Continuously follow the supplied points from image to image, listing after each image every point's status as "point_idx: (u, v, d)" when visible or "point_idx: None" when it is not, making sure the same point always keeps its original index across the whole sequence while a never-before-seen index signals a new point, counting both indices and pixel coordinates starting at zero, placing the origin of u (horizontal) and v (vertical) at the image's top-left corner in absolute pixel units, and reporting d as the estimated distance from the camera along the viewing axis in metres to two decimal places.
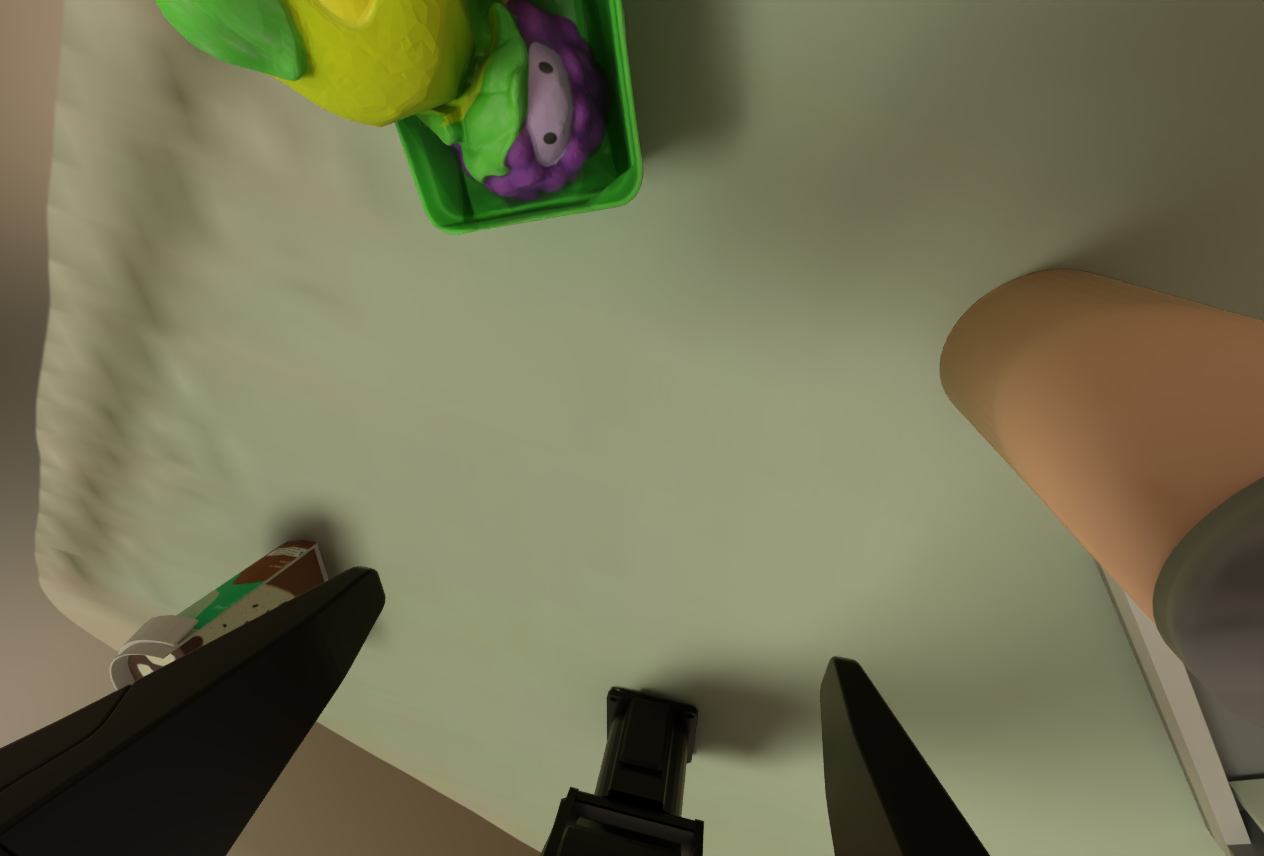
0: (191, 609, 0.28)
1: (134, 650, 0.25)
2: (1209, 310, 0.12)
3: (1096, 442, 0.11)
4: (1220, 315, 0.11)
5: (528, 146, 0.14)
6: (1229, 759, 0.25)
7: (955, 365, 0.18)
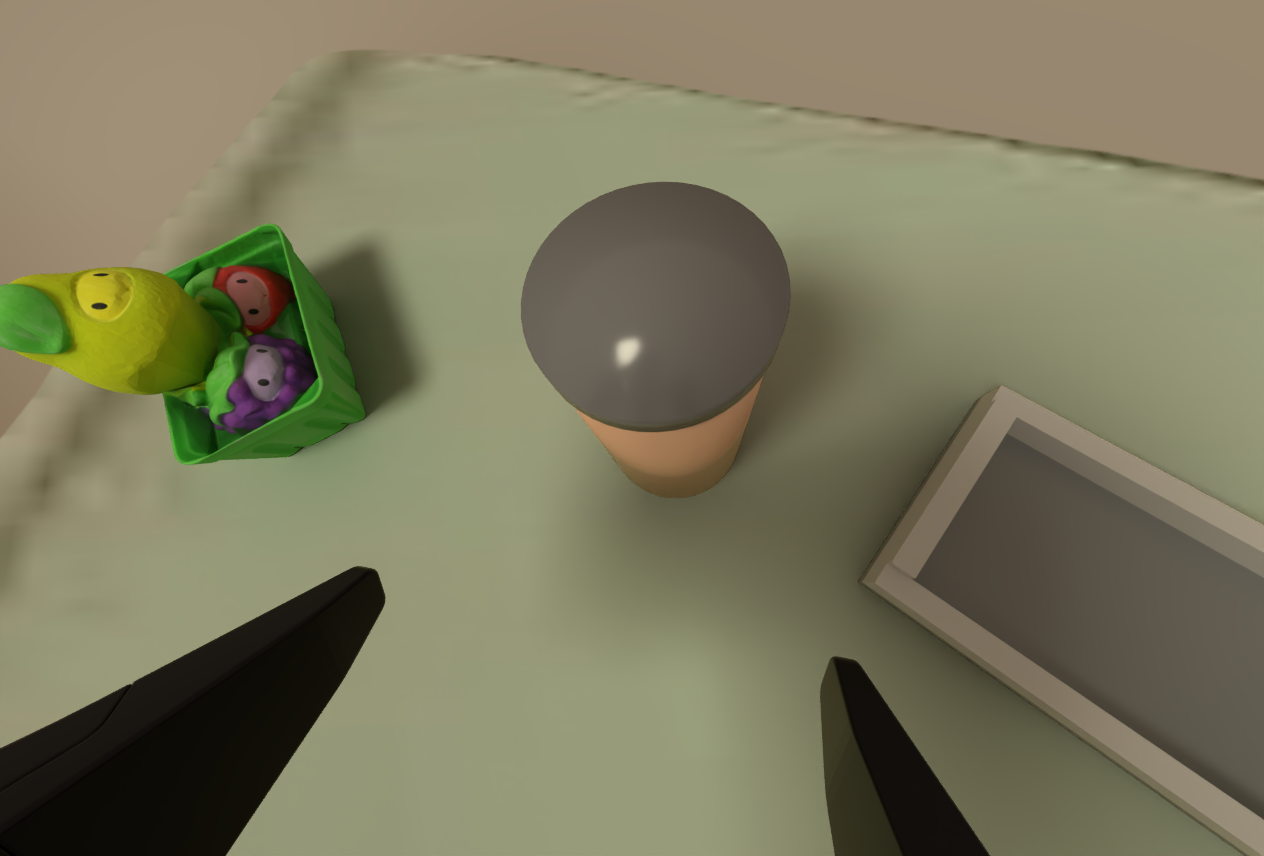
0: None
1: None
2: None
3: None
4: None
5: (244, 386, 0.21)
6: None
7: None
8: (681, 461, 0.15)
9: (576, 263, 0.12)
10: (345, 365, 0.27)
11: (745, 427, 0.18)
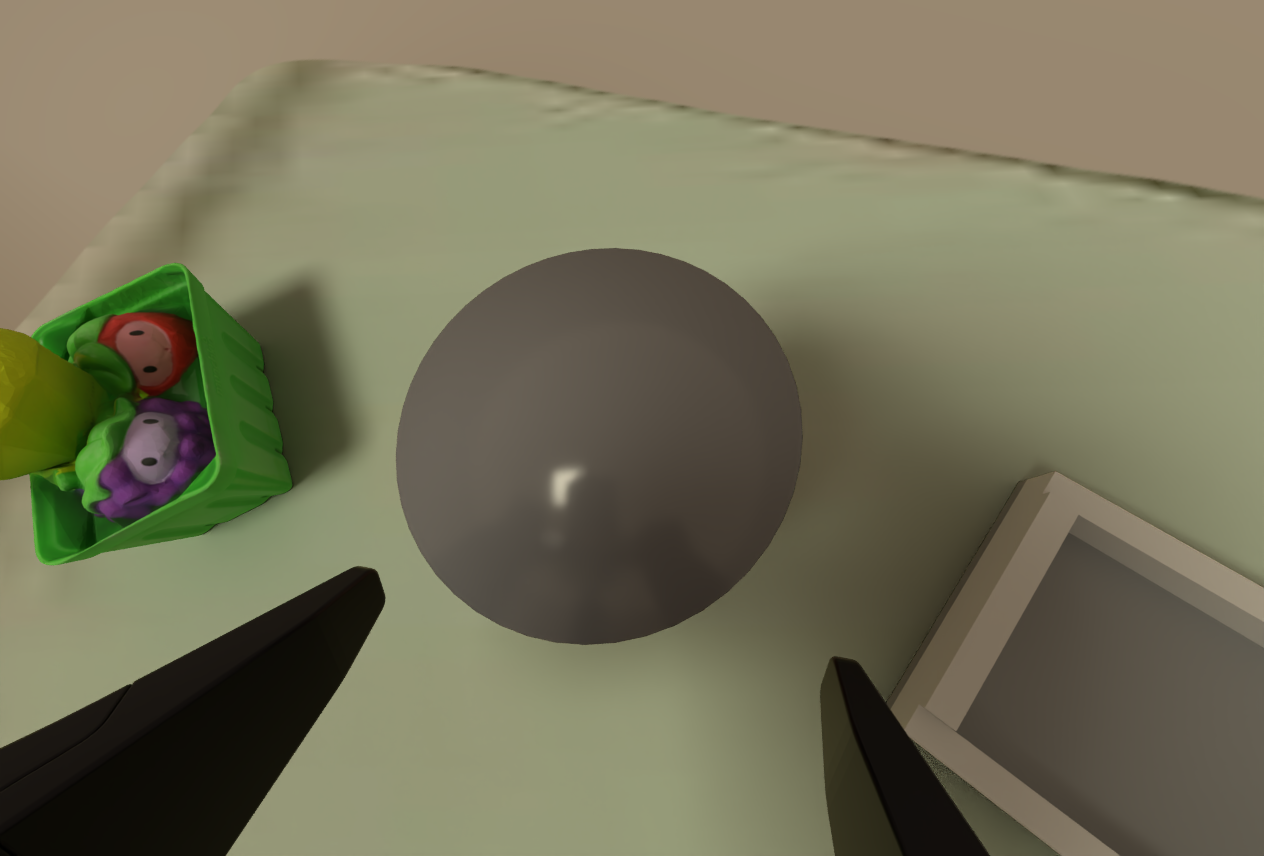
0: None
1: None
2: None
3: None
4: None
5: (122, 468, 0.17)
6: None
7: None
8: None
9: (483, 372, 0.08)
10: (269, 426, 0.23)
11: None
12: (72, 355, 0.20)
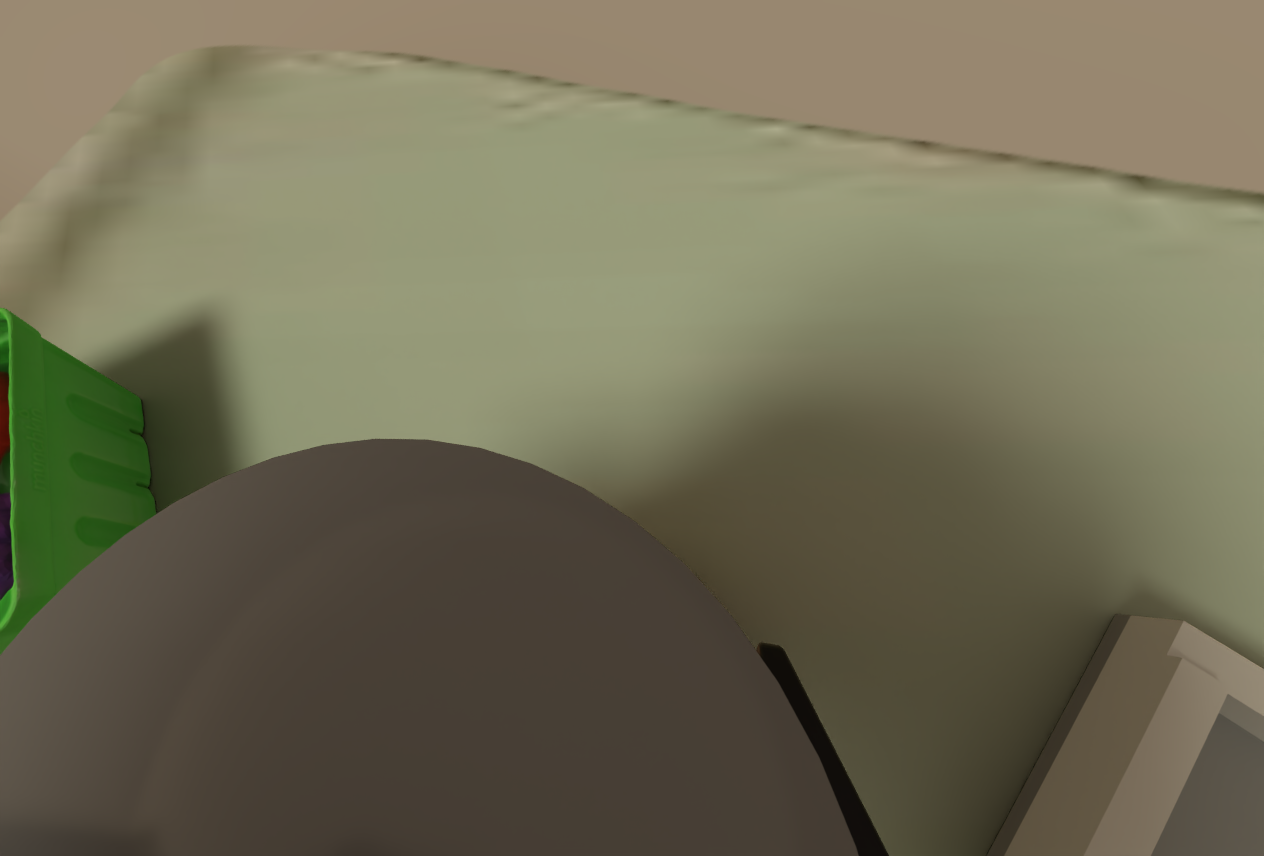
0: None
1: None
2: None
3: None
4: None
5: None
6: None
7: None
8: None
9: (70, 780, 0.03)
10: (137, 512, 0.18)
11: None
12: None
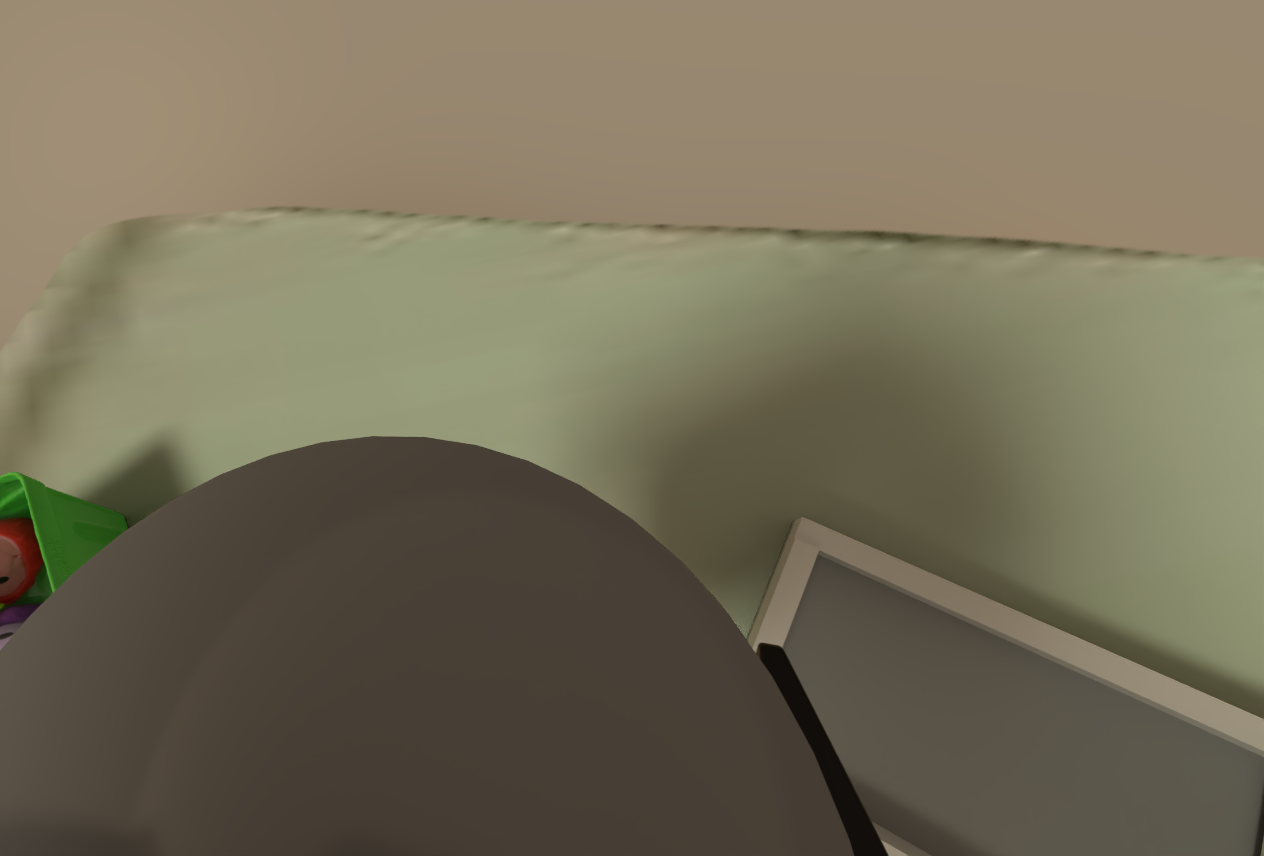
0: None
1: None
2: None
3: None
4: None
5: None
6: None
7: None
8: None
9: (67, 776, 0.03)
10: None
11: None
12: None
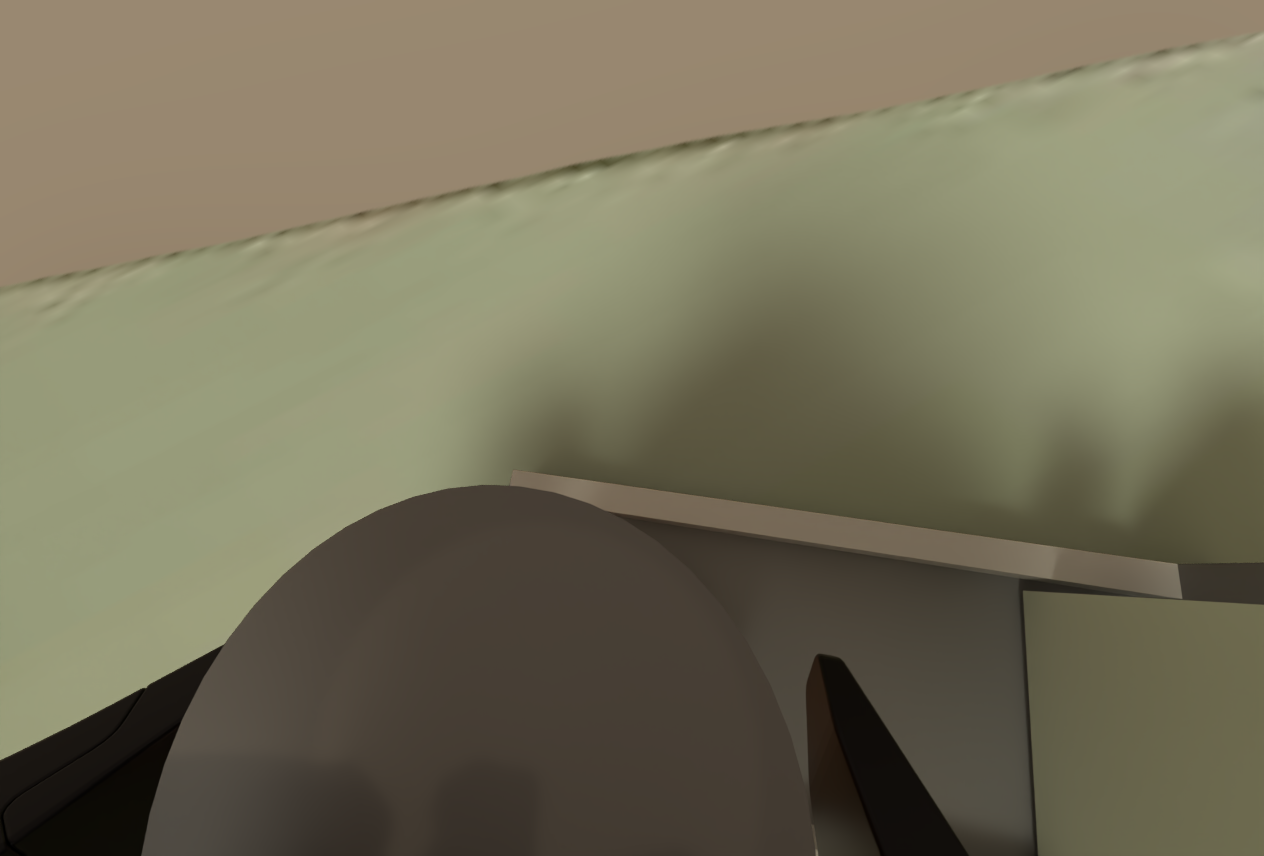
0: None
1: None
2: None
3: None
4: None
5: None
6: (977, 830, 0.14)
7: None
8: None
9: (295, 707, 0.05)
10: None
11: None
12: None
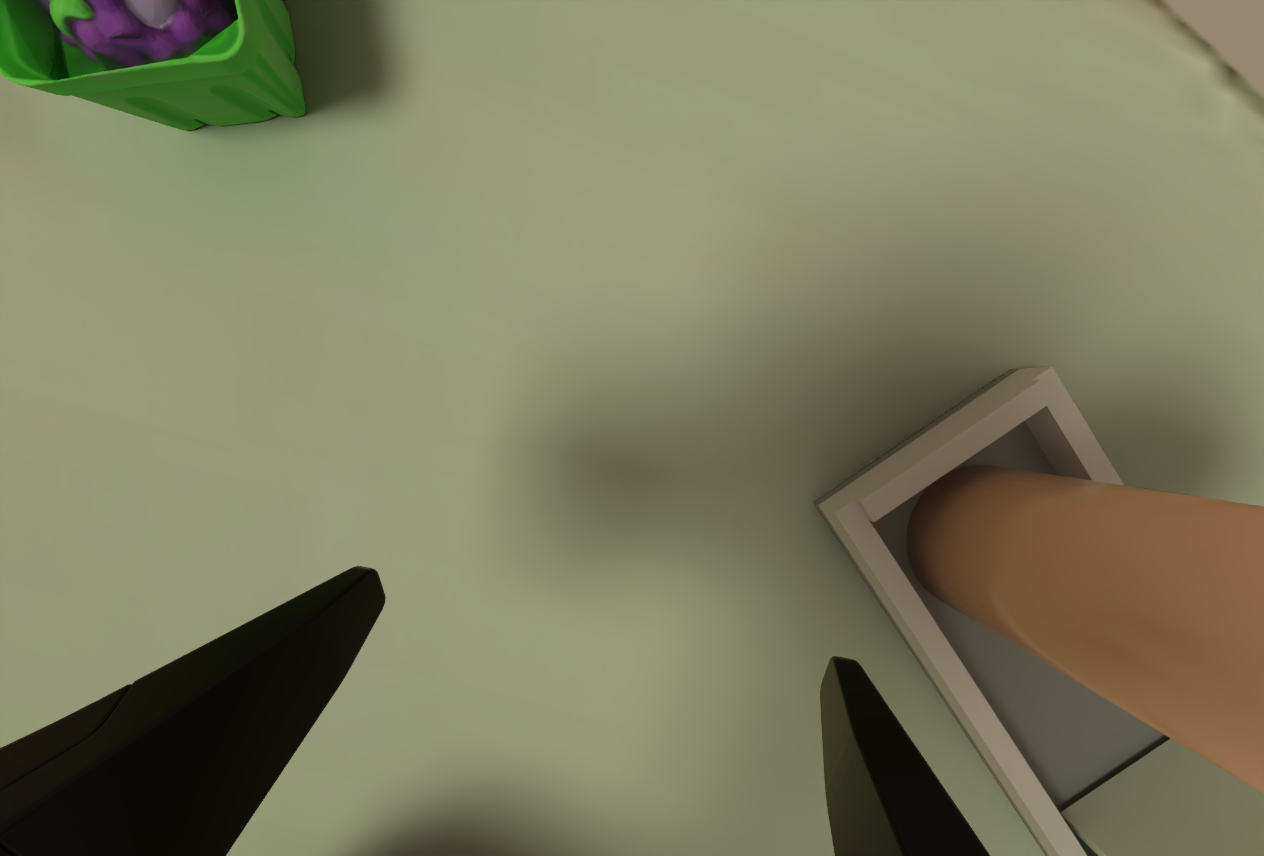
0: None
1: None
2: None
3: (1171, 553, 0.11)
4: None
5: None
6: (1047, 776, 0.21)
7: (937, 513, 0.19)
8: (1134, 716, 0.13)
9: None
10: (283, 19, 0.18)
11: None
12: None
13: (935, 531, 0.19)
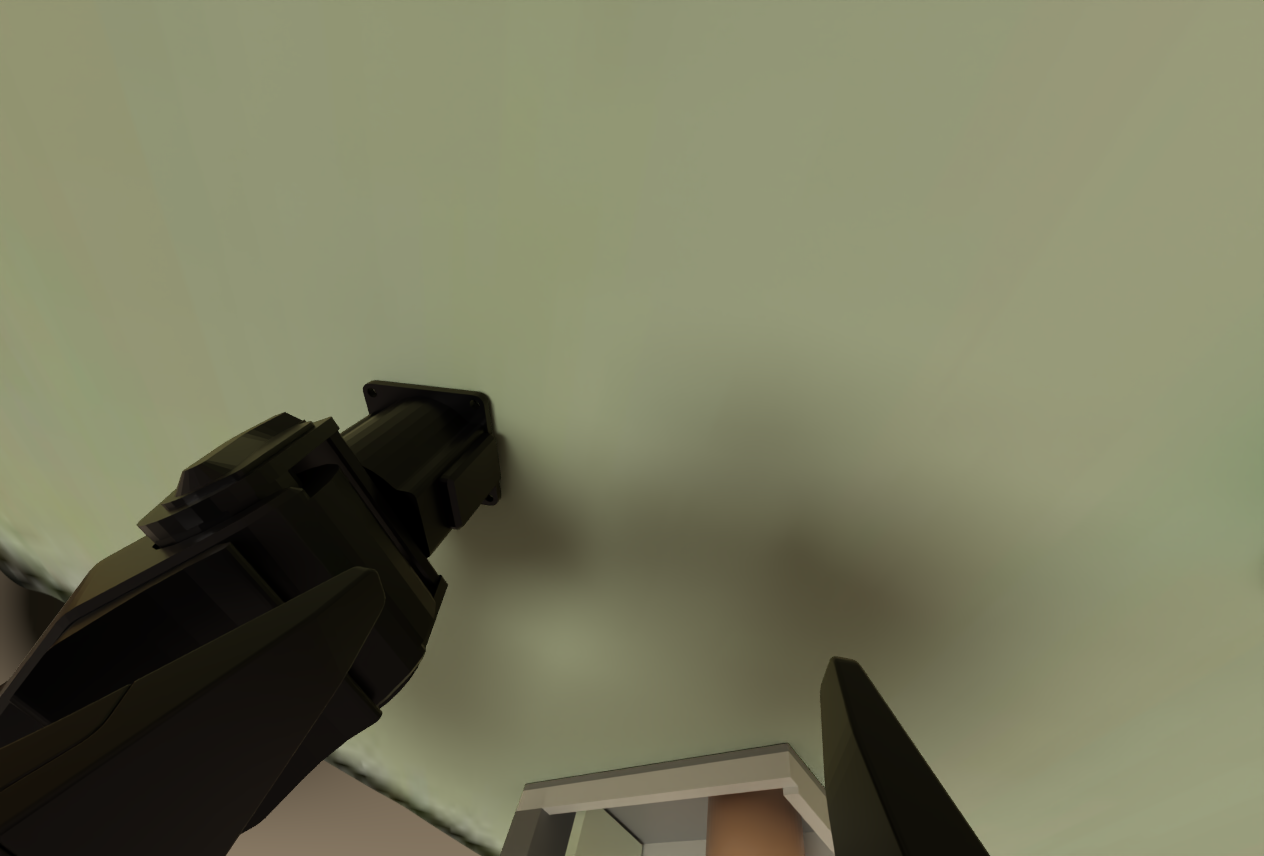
0: None
1: None
2: None
3: None
4: None
5: None
6: None
7: (781, 812, 0.31)
8: None
9: None
10: None
11: None
12: None
13: (771, 812, 0.31)
